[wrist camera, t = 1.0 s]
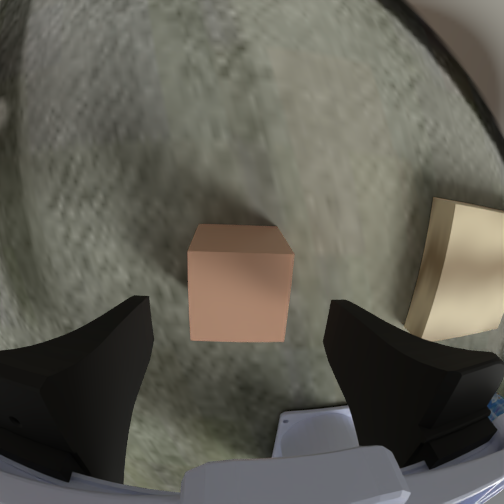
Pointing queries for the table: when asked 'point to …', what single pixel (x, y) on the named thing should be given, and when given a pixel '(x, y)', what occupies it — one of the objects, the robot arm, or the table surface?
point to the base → (459, 273)
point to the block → (239, 283)
